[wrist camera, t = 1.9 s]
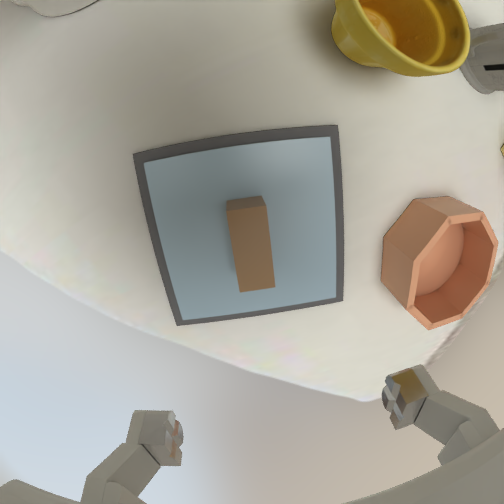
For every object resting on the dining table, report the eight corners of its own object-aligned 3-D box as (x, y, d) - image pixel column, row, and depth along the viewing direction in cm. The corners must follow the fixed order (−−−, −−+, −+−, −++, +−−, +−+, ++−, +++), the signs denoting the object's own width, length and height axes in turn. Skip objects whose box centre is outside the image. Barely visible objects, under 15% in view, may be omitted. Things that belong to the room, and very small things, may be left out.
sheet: (145, 162, 23) (130, 168, 20) (328, 136, 24) (345, 138, 20) (183, 317, 30) (178, 341, 26) (334, 294, 30) (347, 316, 26)
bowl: (384, 202, 27) (417, 220, 21) (468, 194, 27) (503, 209, 21) (377, 307, 32) (400, 339, 26) (455, 287, 32) (481, 310, 26)
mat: (134, 153, 23) (132, 154, 23) (336, 125, 24) (337, 125, 23) (177, 323, 30) (176, 325, 30) (341, 299, 31) (342, 301, 30)
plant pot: (309, 75, 22) (352, 49, 13) (308, -16, 18) (342, -68, 9) (408, 95, 22) (476, 91, 14) (404, 9, 18) (461, -18, 9)
